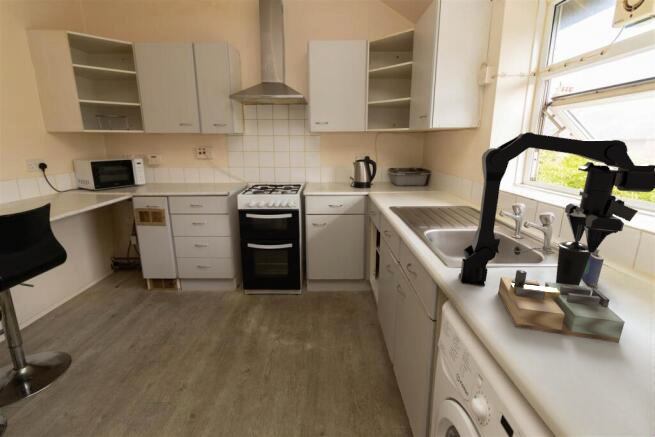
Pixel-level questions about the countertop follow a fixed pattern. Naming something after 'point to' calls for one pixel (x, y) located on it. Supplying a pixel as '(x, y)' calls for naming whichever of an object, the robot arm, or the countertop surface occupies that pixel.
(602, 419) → the countertop surface
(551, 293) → the bolt
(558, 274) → the drinking cup
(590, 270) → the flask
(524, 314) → the frame
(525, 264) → the countertop surface
